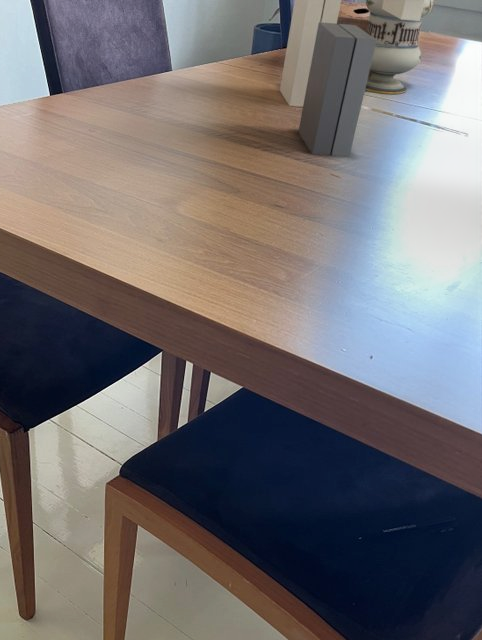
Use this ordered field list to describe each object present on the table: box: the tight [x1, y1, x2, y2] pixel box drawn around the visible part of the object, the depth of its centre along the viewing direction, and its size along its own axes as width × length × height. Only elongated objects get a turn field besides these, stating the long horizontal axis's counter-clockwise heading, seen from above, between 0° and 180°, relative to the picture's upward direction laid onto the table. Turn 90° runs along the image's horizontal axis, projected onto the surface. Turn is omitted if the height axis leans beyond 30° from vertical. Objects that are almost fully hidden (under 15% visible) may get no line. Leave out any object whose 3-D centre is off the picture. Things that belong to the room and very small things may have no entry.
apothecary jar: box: [365, 0, 435, 95], centre depth 134 cm, size 12×12×18 cm
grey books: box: [297, 22, 377, 157], centre depth 100 cm, size 5×11×15 cm, turn 0°
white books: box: [279, 0, 342, 108], centre depth 123 cm, size 5×11×17 cm, turn 0°
